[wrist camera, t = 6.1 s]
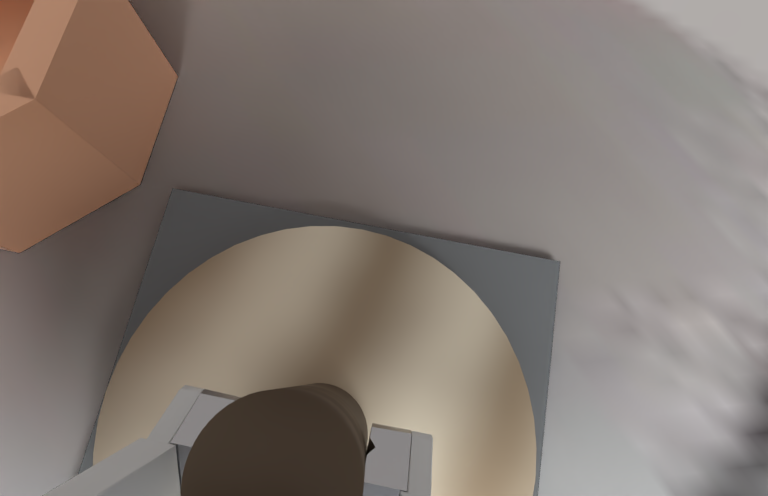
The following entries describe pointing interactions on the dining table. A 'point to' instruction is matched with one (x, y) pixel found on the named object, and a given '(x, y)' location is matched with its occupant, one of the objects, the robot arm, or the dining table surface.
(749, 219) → the dining table surface
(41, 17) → the bowl
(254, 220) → the mat
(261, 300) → the lid
